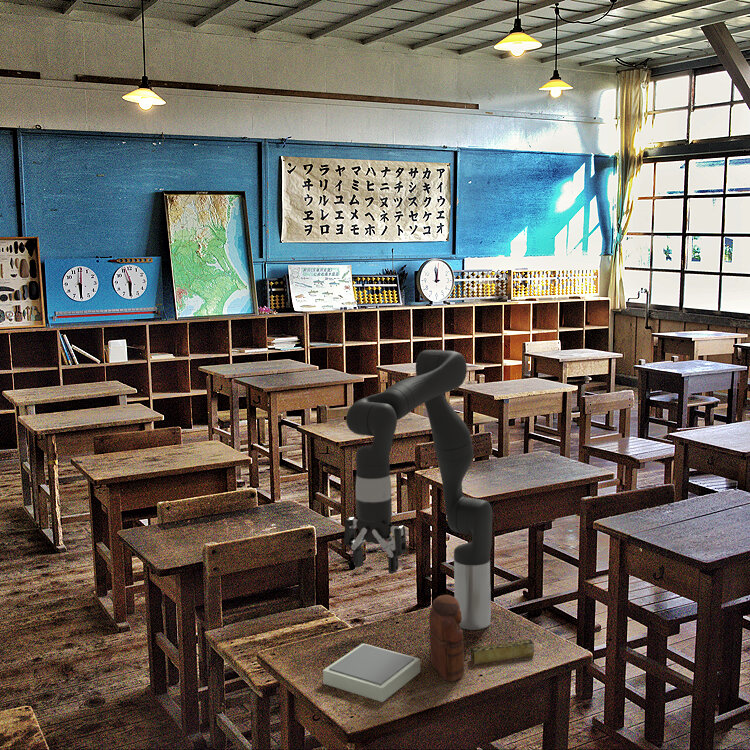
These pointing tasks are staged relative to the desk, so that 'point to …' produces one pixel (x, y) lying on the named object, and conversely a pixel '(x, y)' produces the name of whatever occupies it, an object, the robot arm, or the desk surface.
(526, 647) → the decorative block
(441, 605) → the wooden figurine
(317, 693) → the desk surface
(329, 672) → the plinth
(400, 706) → the desk surface
